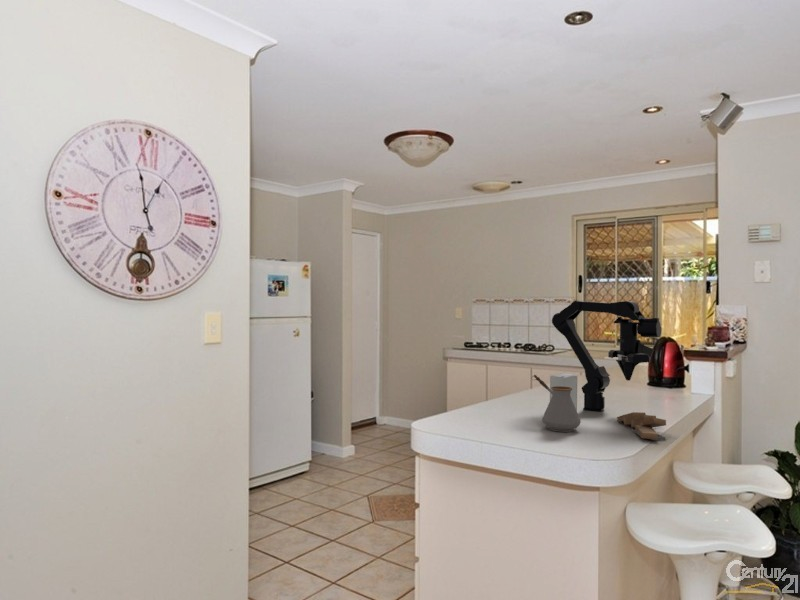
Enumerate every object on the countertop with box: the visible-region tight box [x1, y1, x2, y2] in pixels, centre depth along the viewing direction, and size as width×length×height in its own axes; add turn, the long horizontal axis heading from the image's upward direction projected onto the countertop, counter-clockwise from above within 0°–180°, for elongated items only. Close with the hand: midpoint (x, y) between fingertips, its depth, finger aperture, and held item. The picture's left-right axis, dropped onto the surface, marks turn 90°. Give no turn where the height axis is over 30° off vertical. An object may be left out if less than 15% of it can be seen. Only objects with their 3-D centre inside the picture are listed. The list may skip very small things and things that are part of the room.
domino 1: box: [616, 411, 647, 423], centre depth 174 cm, size 2×4×10 cm
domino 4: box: [634, 425, 658, 440], centre depth 158 cm, size 2×4×10 cm
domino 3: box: [630, 417, 667, 429], centre depth 164 cm, size 2×4×10 cm
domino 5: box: [631, 428, 666, 441], centre depth 160 cm, size 2×4×10 cm
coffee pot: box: [531, 374, 582, 433], centre depth 172 cm, size 21×12×15 cm, turn 19°
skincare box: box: [549, 372, 579, 411], centre depth 184 cm, size 8×6×15 cm
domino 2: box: [623, 414, 657, 426], centre depth 169 cm, size 2×4×10 cm
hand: (628, 380), depth 192 cm, fingers closed
